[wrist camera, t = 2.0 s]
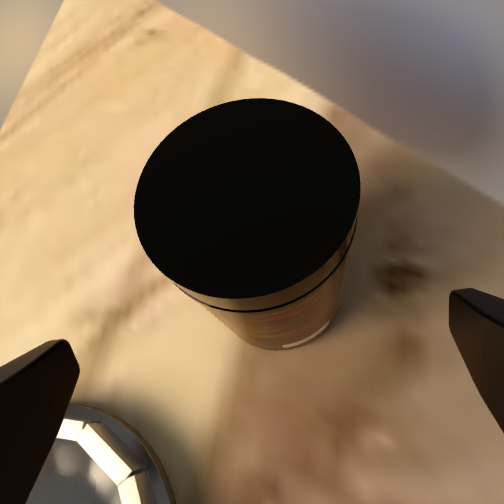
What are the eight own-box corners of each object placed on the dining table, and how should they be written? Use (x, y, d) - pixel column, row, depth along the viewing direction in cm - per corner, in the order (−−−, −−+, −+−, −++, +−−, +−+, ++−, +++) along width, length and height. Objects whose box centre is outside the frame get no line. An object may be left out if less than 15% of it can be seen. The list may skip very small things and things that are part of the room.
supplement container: (294, 211, 22) (272, 64, 13) (370, 303, 20) (416, 203, 10) (197, 276, 22) (99, 174, 12) (262, 380, 19) (201, 352, 10)
